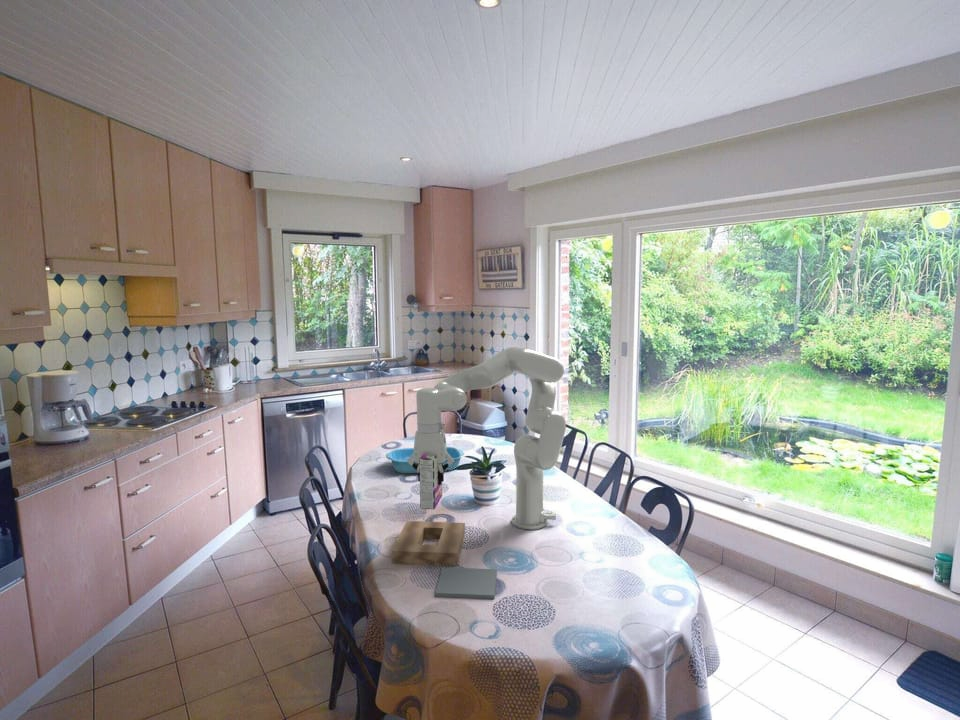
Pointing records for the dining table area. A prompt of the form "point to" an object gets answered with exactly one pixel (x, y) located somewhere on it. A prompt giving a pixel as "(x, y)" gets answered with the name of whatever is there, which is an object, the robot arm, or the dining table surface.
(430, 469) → the candy bar box
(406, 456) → the casserole dish
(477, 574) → the charcoal mat
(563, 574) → the dining table surface
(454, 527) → the pocket holder
